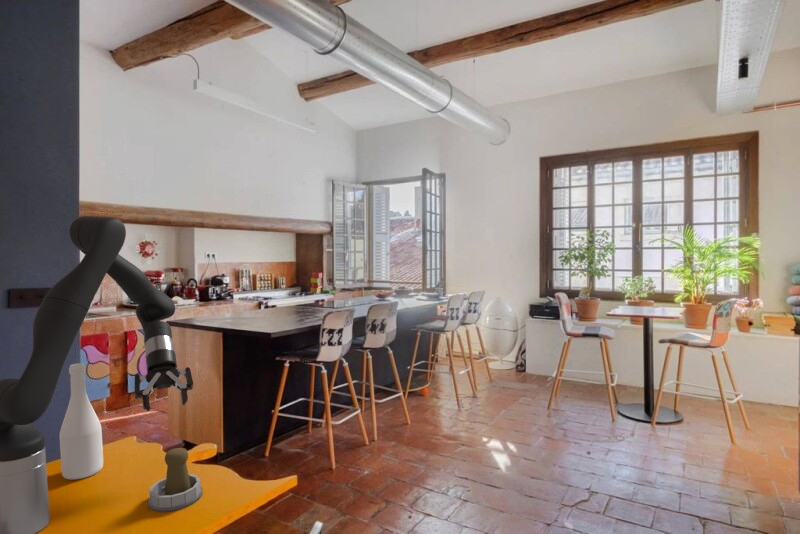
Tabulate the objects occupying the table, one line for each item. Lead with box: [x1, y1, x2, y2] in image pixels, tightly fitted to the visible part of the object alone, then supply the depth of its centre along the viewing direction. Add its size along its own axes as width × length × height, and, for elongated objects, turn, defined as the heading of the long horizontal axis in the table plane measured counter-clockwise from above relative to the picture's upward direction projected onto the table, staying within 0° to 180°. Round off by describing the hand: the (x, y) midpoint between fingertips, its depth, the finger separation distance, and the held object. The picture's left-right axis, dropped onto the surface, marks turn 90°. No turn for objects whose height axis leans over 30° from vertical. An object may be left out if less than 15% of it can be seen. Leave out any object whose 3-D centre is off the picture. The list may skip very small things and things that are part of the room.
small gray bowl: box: [147, 473, 203, 513], centre depth 116 cm, size 12×12×3 cm
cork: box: [164, 447, 191, 495], centre depth 116 cm, size 6×6×11 cm
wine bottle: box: [59, 363, 104, 481], centre depth 129 cm, size 10×10×30 cm
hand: (166, 406), depth 125 cm, fingers open, 8 cm apart
